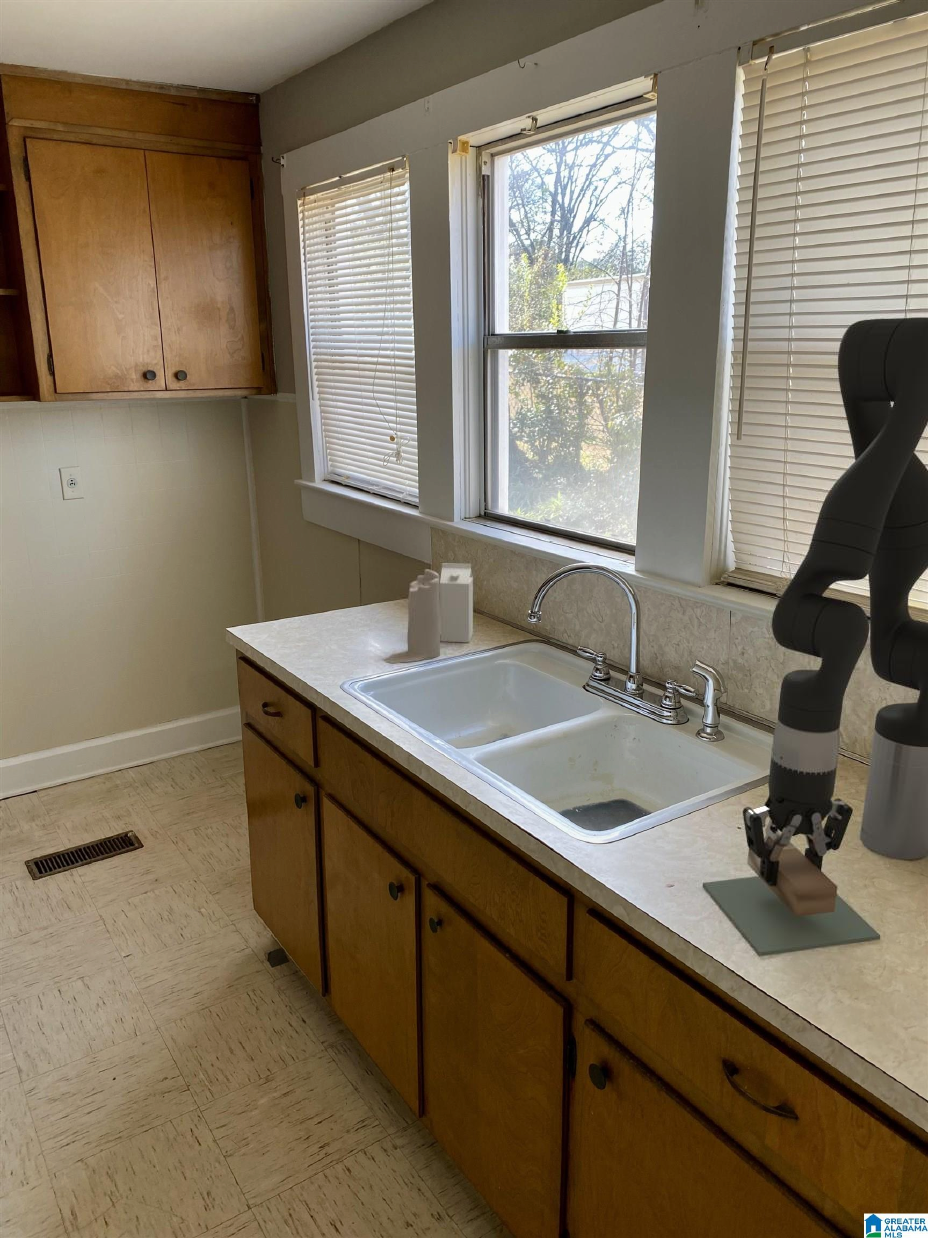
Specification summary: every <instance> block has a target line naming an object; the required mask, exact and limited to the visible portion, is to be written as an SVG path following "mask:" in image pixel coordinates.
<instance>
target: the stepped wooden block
mask: <svg viewBox="0 0 928 1238" xmlns="http://www.w3.org/2000/svg"><path fill="white" fill-rule="evenodd" d="M773 844H774V843H773ZM747 851H748V852H747V863H746V864H747V865H748V866H749V868H750V869H751V870H752V871H753V872H754V873H755V874H756V876H759V877H760V878H761V879H762V880H763V881H764V879H763V878H762V877H761V875H760V866H761V858H759V857H757V855H756V854H755V853H754V852H753V851H752V850H751V849H750V848H749V847H748V850H747ZM778 860H779V869H778V874H777V882H776V886H769V885H768V884H767V883H766V882H765V881H764V882H765V884H766V885H767V886H768V887H769V888H770V889H771V890H772V891H773V892H774V893H775V894H776V895H777V896H778V897H779V898H780V900H781V901H782V902H783V903H784V904H785V905H786V906H787V907H788V908H789V909H790V910H791V911H792V912H793V913H794V915H795V916H796V917H797V916H805V915H813V914H821V913H829V912H834V909H835V901H836V894H838V885H837V884H836V883H835V882H834V881H832V880H831V879H830V878H829V877H828V876H827V875H826V874H825V872H823V870H822V869H821V870H820V869H818V868H817V867H816V866H815V865H814V864H813V863H812V862H811V861H809V860H808V859H807V858H806V857H805V853H804V854H803V852H802V851H801V850H799V849H798V847H796V846H795V845H794V844H793V843H792V842H791V841H790V842H789V844H788V845H787V846H785V847H784V848H783V850H782V852H781V854H780V856H779V858H778Z"/></svg>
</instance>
